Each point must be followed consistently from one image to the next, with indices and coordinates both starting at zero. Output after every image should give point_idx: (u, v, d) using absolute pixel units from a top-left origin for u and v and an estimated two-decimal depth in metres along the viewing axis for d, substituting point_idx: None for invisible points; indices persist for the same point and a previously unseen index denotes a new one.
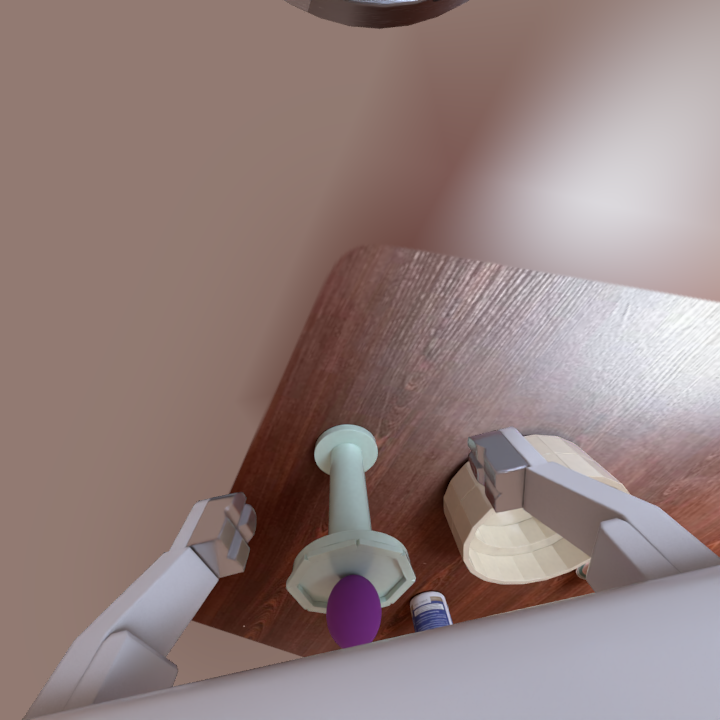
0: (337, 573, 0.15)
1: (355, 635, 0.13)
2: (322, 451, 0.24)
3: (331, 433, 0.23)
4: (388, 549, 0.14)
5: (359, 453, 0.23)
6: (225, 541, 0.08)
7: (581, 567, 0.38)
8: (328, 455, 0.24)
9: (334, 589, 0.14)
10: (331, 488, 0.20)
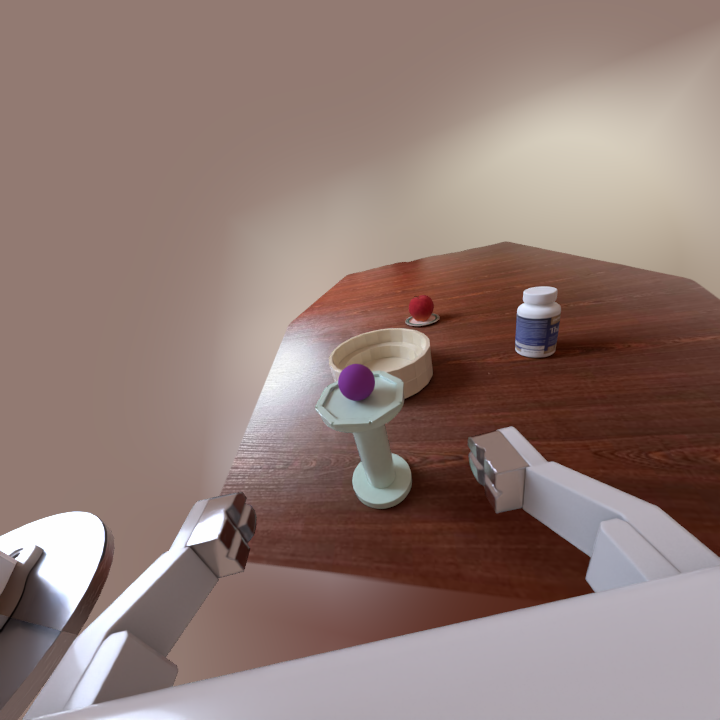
0: (356, 404, 0.21)
1: (343, 372, 0.20)
2: (383, 495, 0.24)
3: (360, 496, 0.25)
4: None
5: None
6: (225, 541, 0.08)
7: (430, 322, 0.60)
8: (386, 489, 0.25)
9: (351, 398, 0.20)
10: (370, 458, 0.23)
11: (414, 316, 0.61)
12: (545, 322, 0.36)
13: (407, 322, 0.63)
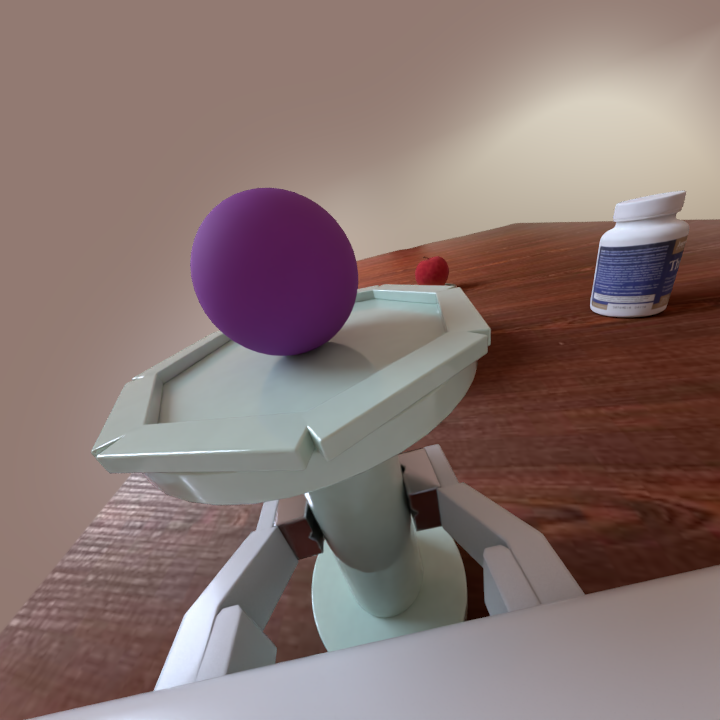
0: (282, 365, 0.05)
1: None
2: None
3: (326, 645, 0.09)
4: (192, 345, 0.07)
5: None
6: (310, 521, 0.08)
7: None
8: (400, 622, 0.09)
9: (252, 347, 0.05)
10: (350, 550, 0.07)
11: None
12: (663, 249, 0.21)
13: None
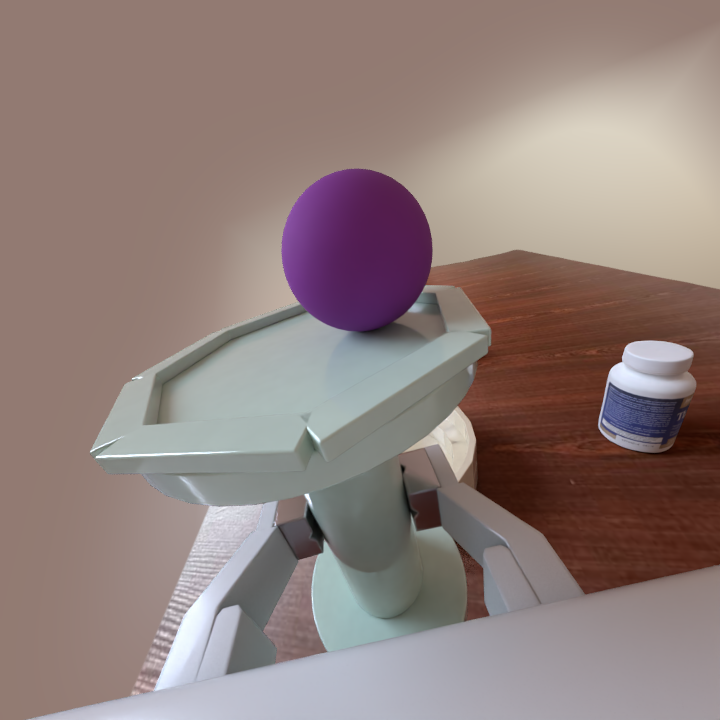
0: (281, 365, 0.05)
1: None
2: None
3: (326, 645, 0.09)
4: (192, 345, 0.07)
5: None
6: (309, 521, 0.08)
7: None
8: (400, 622, 0.09)
9: (292, 254, 0.04)
10: (350, 551, 0.07)
11: None
12: (671, 405, 0.22)
13: None
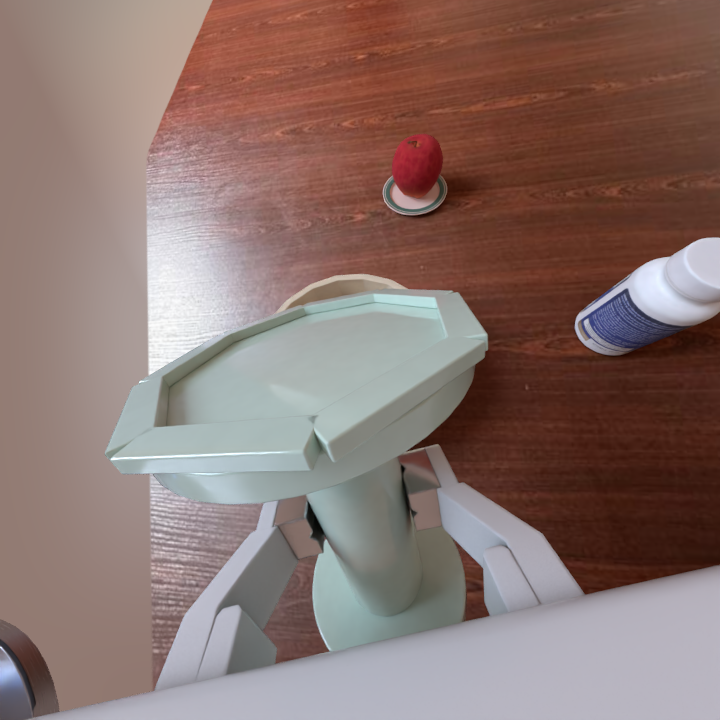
0: (285, 368, 0.05)
1: None
2: None
3: (327, 644, 0.09)
4: (196, 348, 0.07)
5: None
6: (310, 521, 0.08)
7: (430, 206, 0.32)
8: (400, 620, 0.09)
9: None
10: (351, 550, 0.07)
11: (402, 189, 0.31)
12: (675, 329, 0.19)
13: (387, 198, 0.33)
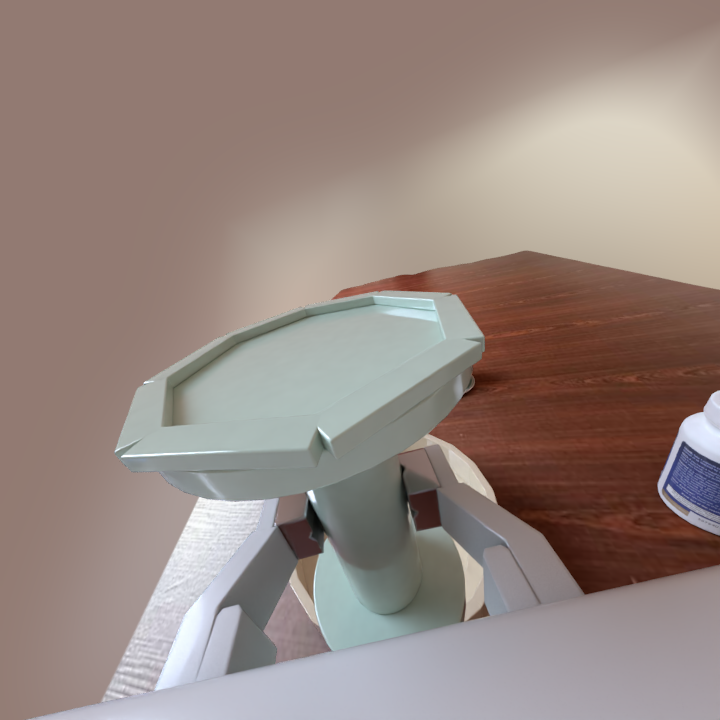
0: (288, 369, 0.05)
1: None
2: None
3: (328, 642, 0.09)
4: (198, 350, 0.07)
5: None
6: (310, 521, 0.08)
7: None
8: (400, 618, 0.09)
9: None
10: (352, 548, 0.07)
11: None
12: None
13: None
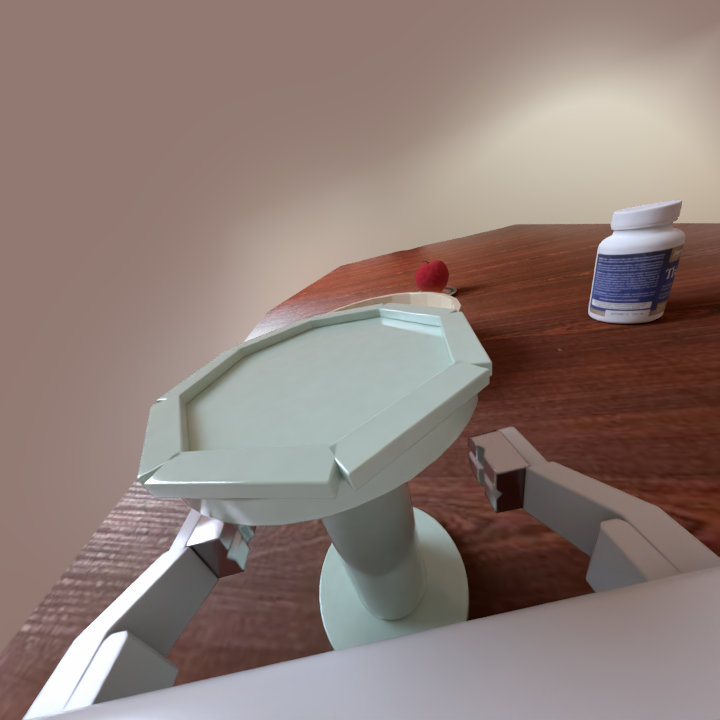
0: (298, 388, 0.06)
1: None
2: None
3: (335, 647, 0.09)
4: (207, 364, 0.08)
5: None
6: (225, 541, 0.08)
7: None
8: (405, 624, 0.09)
9: None
10: (359, 557, 0.08)
11: (423, 288, 0.46)
12: (660, 258, 0.21)
13: None
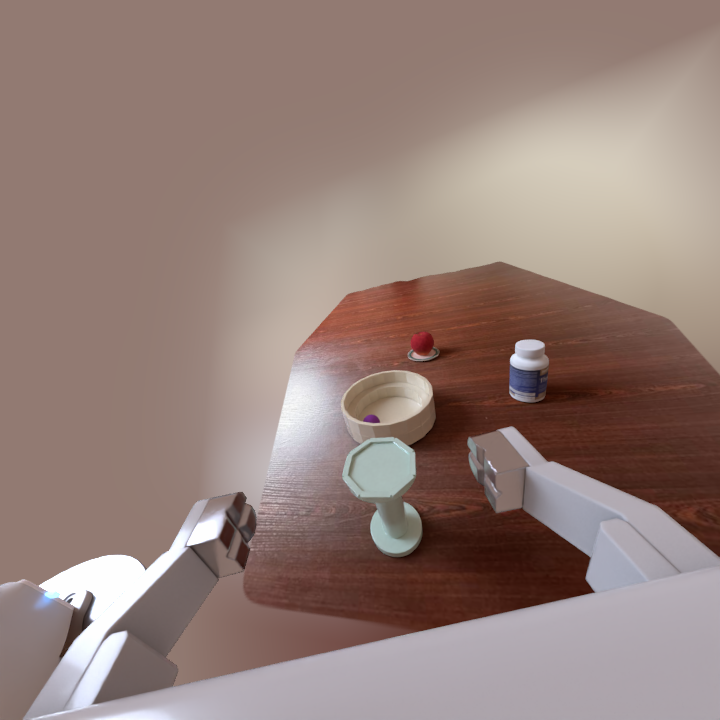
0: (376, 474, 0.25)
1: None
2: (398, 545, 0.28)
3: (378, 546, 0.29)
4: None
5: None
6: (225, 541, 0.08)
7: (430, 357, 0.64)
8: (400, 538, 0.29)
9: (366, 416, 0.46)
10: (387, 515, 0.27)
11: (416, 351, 0.66)
12: (535, 373, 0.41)
13: (409, 356, 0.67)
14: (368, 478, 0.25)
